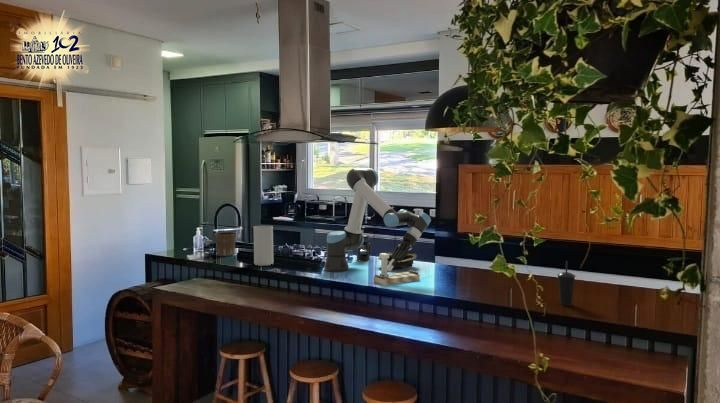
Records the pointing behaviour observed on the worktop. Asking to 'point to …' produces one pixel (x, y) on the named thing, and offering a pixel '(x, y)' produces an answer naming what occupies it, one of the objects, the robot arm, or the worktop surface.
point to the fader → (384, 265)
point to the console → (397, 278)
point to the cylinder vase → (263, 245)
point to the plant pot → (225, 243)
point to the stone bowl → (405, 262)
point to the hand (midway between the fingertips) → (388, 269)
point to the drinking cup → (566, 287)
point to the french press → (364, 256)
